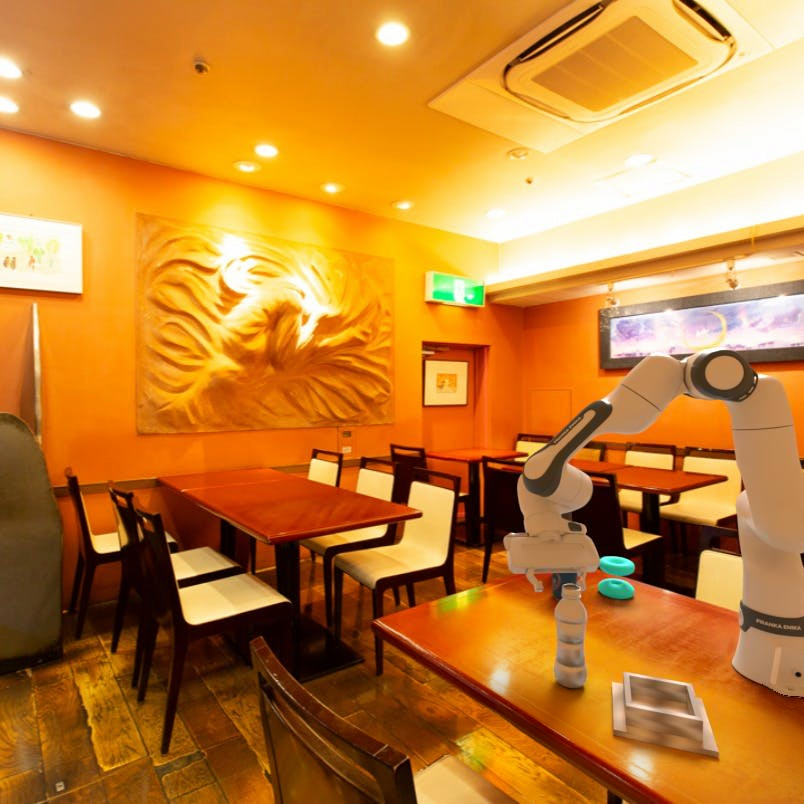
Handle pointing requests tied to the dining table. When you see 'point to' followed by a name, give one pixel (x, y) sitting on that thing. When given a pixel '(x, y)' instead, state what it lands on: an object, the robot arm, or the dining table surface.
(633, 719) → the bottle holder
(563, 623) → the plastic bottle
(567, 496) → the robot arm
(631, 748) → the dining table surface
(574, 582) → the soda can
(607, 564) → the donuts
